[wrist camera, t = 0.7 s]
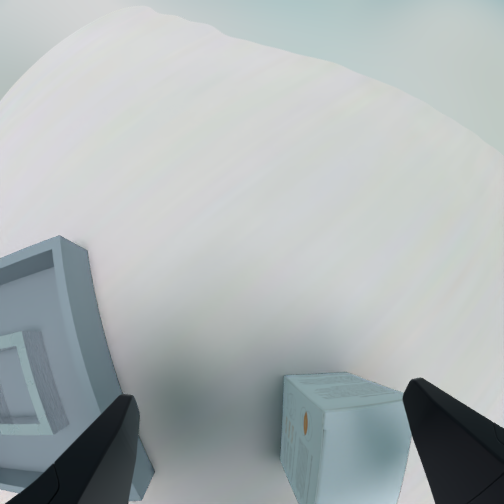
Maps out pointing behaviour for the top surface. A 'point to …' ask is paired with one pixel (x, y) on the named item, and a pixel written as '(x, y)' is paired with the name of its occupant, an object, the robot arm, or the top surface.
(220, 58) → the top surface
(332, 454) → the small box
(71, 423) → the bin
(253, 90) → the top surface
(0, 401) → the socket
